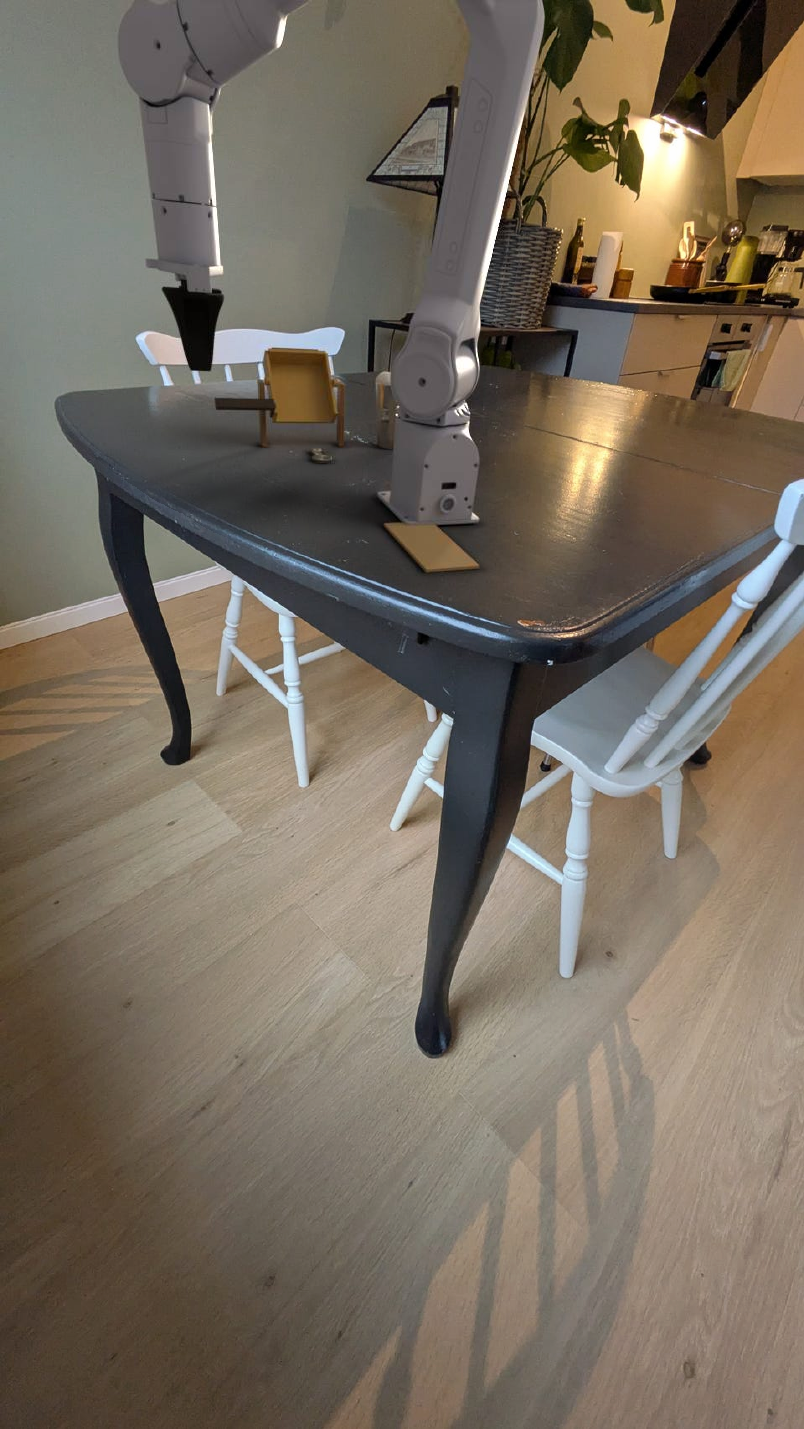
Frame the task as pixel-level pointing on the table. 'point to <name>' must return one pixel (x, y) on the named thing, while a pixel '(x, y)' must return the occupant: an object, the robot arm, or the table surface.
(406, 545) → the mat
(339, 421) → the stand
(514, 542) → the table surface
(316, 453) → the key
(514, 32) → the robot arm
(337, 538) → the table surface
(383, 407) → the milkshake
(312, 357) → the tray
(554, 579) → the table surface
